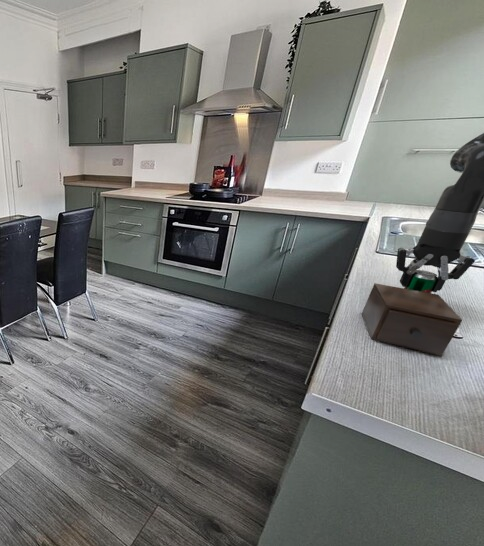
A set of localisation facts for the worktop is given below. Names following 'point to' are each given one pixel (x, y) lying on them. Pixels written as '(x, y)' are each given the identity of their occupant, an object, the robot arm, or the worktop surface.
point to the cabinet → (404, 307)
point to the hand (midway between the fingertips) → (418, 288)
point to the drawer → (416, 331)
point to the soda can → (422, 281)
